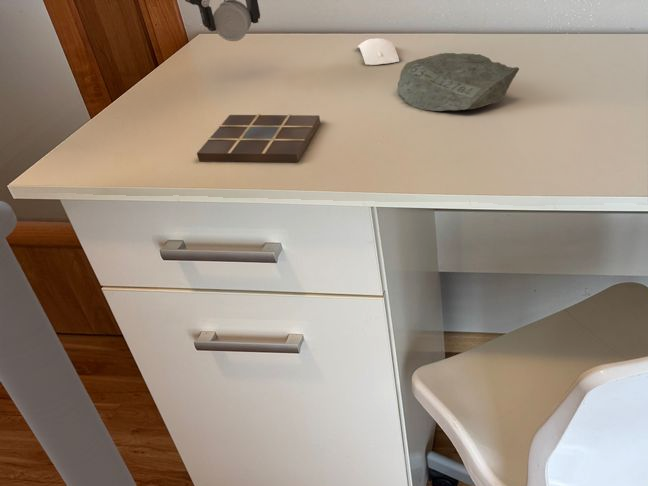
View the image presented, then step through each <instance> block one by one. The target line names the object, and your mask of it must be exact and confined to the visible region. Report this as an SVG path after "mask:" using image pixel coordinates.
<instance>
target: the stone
mask: <svg viewBox="0 0 648 486" xmlns="http://www.w3.org/2000/svg"><path fill="white" fill-rule="evenodd" d="M519 70H520V67H518V66H516V67H515V66H514V67H511V66H508V65H506V64H503V63H501V62H497V61H496V62H495V61H492V60H491V59H490V58H489V57H487V56H485V55H483V54H480V53H479V54H476V53H464V52H463V53H454V52H444V53H438V54H435V55H429V56H427V57H424V58H417V59H415V60H412V61H409V62H406V63H405V64H404V66H403V68H402V69H401V71H400V74H399V80H398V81H397V89H396V90H397V93H398V94H399V95H400V96H401V98H403V99H404V101H405V102H406V103H407V104H409V105H410V106H412V107H413V108H415V109H417V108H418V109H420V110H423V111H424V110H425V111H432V112H435V111H436V112H444V111H461V110H463V111H464V110H474V109H479V108H483V107H485V106H487V105H492V104H498V103H500V102H501V101H502V99H503V98H504V97H505V96H506V94H507V92H508V90H509V88H510V86H511V84H512V82H513V80H514V79H515V77H516V75H517V74H518V73H519Z"/></svg>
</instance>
